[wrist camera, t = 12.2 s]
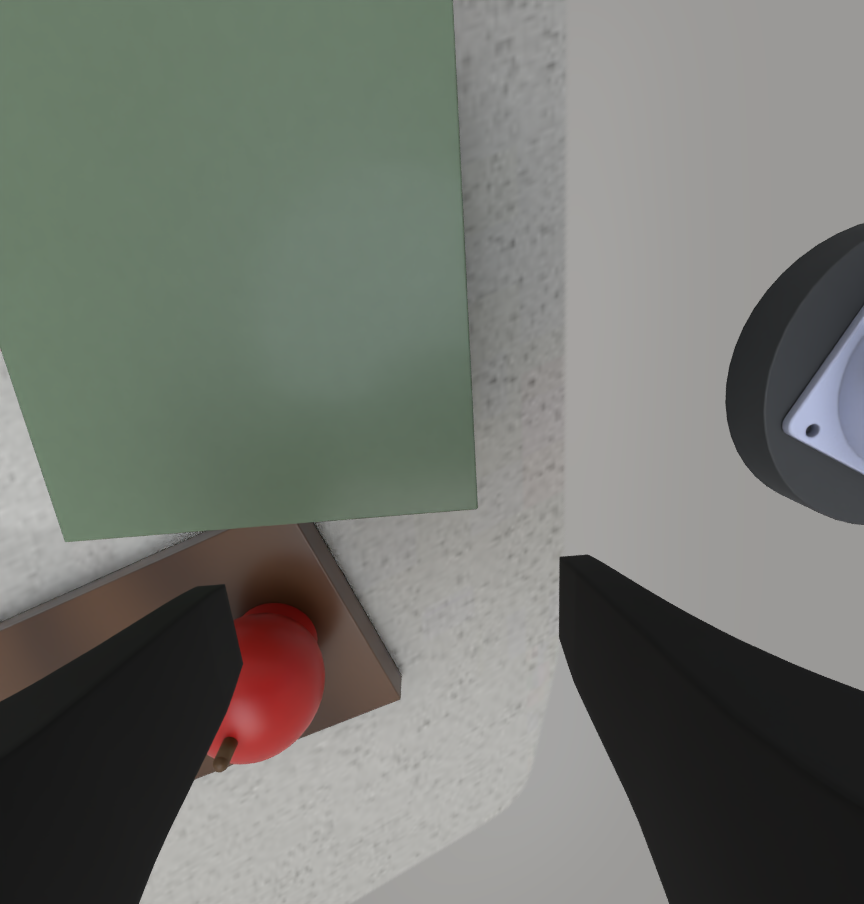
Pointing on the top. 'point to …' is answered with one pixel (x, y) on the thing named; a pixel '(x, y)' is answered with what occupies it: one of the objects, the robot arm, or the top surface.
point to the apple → (270, 686)
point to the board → (248, 585)
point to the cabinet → (235, 260)
